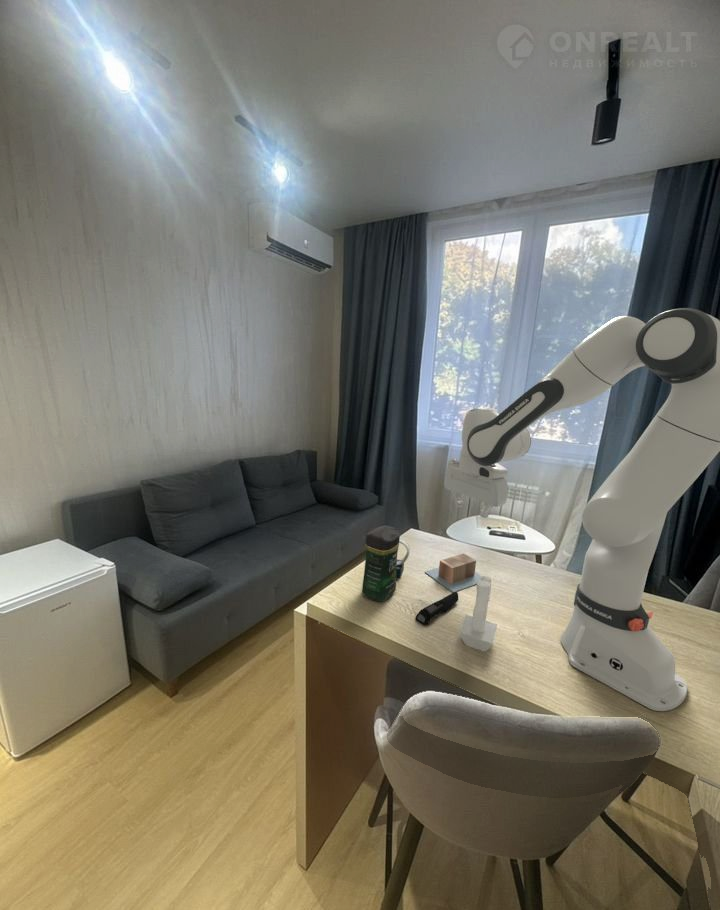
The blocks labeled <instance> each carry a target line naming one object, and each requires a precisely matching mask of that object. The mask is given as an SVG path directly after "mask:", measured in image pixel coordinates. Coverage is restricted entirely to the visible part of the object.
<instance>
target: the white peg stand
mask: <svg viewBox="0 0 720 910" xmlns="http://www.w3.org/2000/svg"><path fill="white" fill-rule="evenodd" d="M491 591H492V579H491V578H490V576H486V575H484V576H482V577H481V581H478V582H477V584H476V597H475V605H474V606H473V607H474V608H473V612H472V616H471V615H469V614H464V617H463V619H462V622H461V626H460V629H459V631H458V632H459V633H458V634H459V635H460V637H461V639H462V640H463V641H462V642H463V644H464V645H465V646H467V647H470V648H473V649H476V650H479V651H482V652H487V650H489V649H490V648H491V647H492V646H493V645H494V642H495V639H496V638H495V637H496V633H497V626H498V623H494V622H492V621H488V620H487V613H488V606H489V602H490V599H491V597H490V596H491Z"/></svg>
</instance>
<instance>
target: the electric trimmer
mask: <svg viewBox="0 0 720 910" xmlns="http://www.w3.org/2000/svg"><path fill="white" fill-rule="evenodd" d="M458 602H459V593H458V591H457V592H451V593H449V594H448V595H447V596H445V597H442V598H441V599H439V600H437V601H434V602H433V603H430V604H429V605H427V606H425V607H423V608H422V609H420V610H419V612H417V614H416V615H415V618H414V619H415V621H416V622H418V623H419V624H421V625H422V626H428V625H430V622H431V620H433V618H435V617H437V616H438V615H441V613H443V612H444V613H447V612H449V610H450V609H451V608H452V607H454V605H456V603H458Z"/></svg>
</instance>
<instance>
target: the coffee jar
mask: <svg viewBox="0 0 720 910" xmlns="http://www.w3.org/2000/svg"><path fill="white" fill-rule="evenodd" d="M400 537H401V535H400V532H399V530H398V529H397V528H395V527H392V526H389V525H386V524H384V525H382V526H378V527H376V528H374V529H372V530H371V531H369V532H367V533H366V536H365V542H364V543H365V544H364V545H365V546H364V547H365V561H364V562H365V563H364V571H363V580H362V588H361V589H362V590H361V593H362V595H364V596H365V597H366V598H367V599H369V600H371V601H376V602H385V601H386V600H388V599H389V598H390V597H392V595H393V594H394V593H395V592H396V587H397V578H396V567H397V559H398V552H399V546H400V543H399V540H400Z"/></svg>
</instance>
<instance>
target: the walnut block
mask: <svg viewBox="0 0 720 910" xmlns="http://www.w3.org/2000/svg"><path fill="white" fill-rule="evenodd" d="M476 566H477V560H476V559H474V558H473V557H471V556H470V555H467V554H466V553H461V554H457V555H454V556H450V557H447V558H444V559H440V560H439V574H438V576H440V577H441V578H442V579H444V580H445V581H447V582H448V583H450V584H452V583H455V582H457V581H460V580H463V579H466V578H469V577H472V576H474V575H475V572H476Z"/></svg>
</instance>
